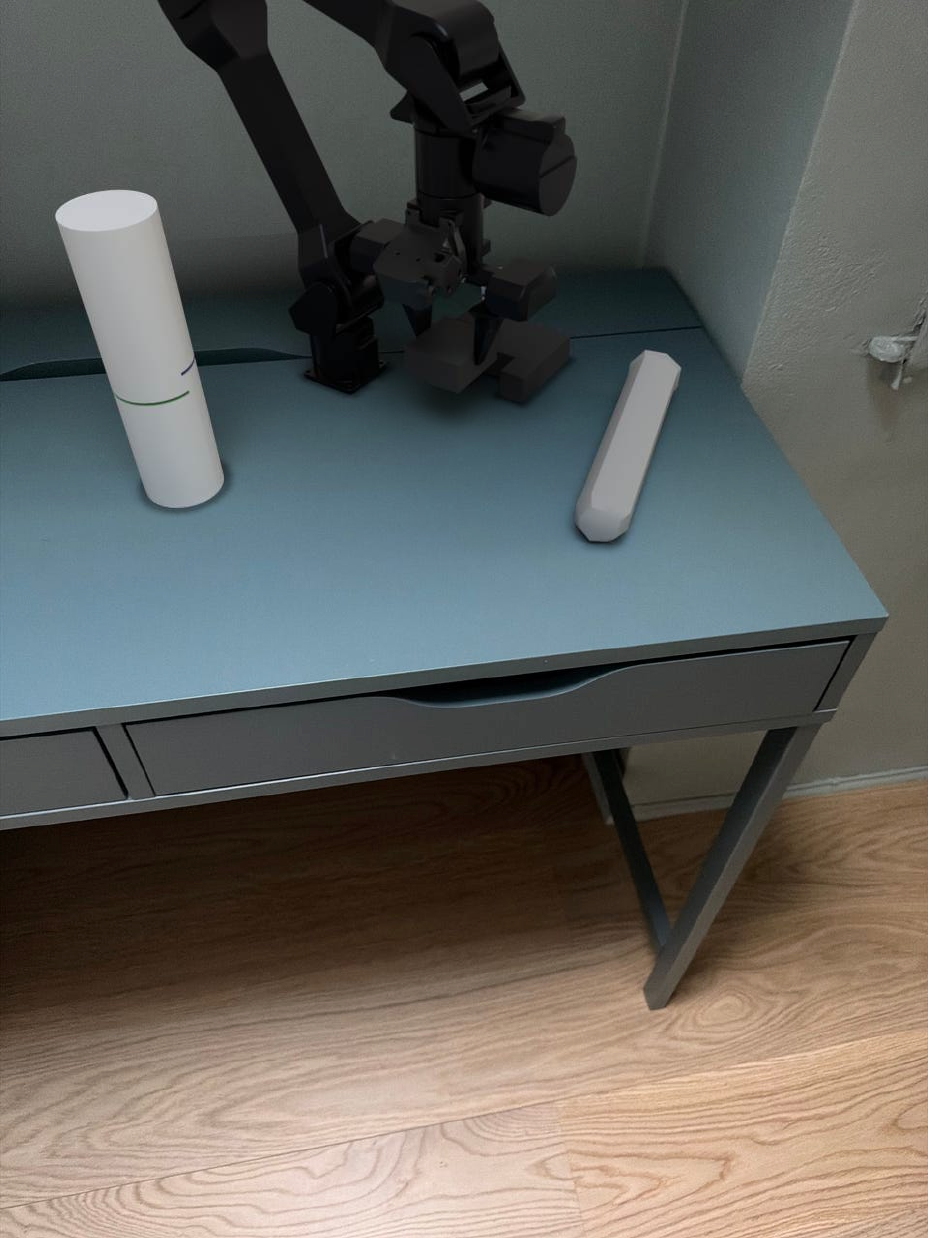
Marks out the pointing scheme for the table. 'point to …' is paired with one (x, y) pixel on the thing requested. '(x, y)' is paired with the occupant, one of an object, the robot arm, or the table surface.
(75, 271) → the cylindrical container
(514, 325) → the notch pad
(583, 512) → the tube
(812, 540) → the table surface
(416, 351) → the pad
